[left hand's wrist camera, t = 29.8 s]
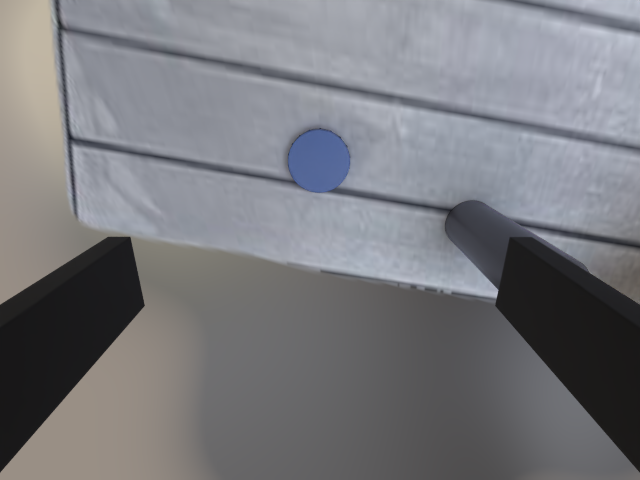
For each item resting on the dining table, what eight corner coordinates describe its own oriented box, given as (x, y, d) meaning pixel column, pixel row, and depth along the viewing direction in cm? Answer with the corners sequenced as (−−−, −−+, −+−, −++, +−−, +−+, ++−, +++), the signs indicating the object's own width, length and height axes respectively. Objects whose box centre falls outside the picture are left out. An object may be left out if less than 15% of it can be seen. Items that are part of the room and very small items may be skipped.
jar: (451, 198, 40) (539, 261, 24) (498, 202, 41) (617, 268, 24) (440, 243, 42) (515, 330, 26) (485, 247, 43) (588, 336, 26)
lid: (359, 172, 39) (361, 175, 38) (306, 199, 40) (306, 203, 39) (332, 116, 37) (332, 117, 36) (277, 147, 38) (275, 149, 37)
